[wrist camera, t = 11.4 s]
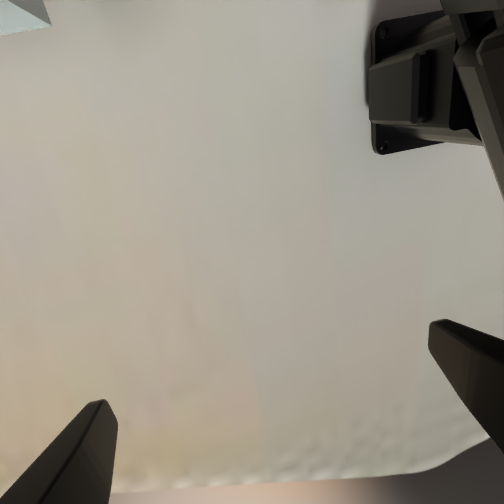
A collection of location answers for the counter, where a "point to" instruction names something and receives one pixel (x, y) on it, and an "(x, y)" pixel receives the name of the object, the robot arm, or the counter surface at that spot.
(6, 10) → the pale blue block
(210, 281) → the counter surface
